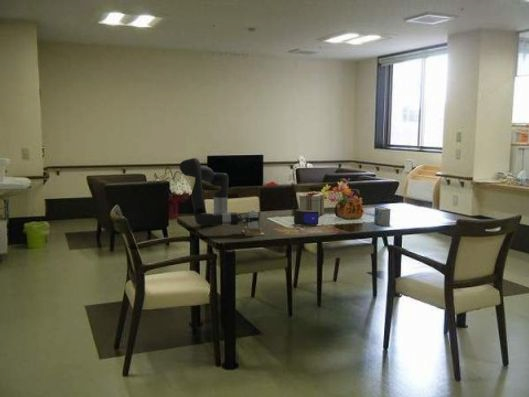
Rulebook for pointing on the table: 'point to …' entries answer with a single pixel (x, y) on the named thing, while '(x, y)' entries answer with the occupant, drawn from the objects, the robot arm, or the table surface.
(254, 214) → the servo block
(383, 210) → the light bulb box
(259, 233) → the chassis board
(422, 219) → the table surface
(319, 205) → the gift box
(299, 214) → the black and blue box
